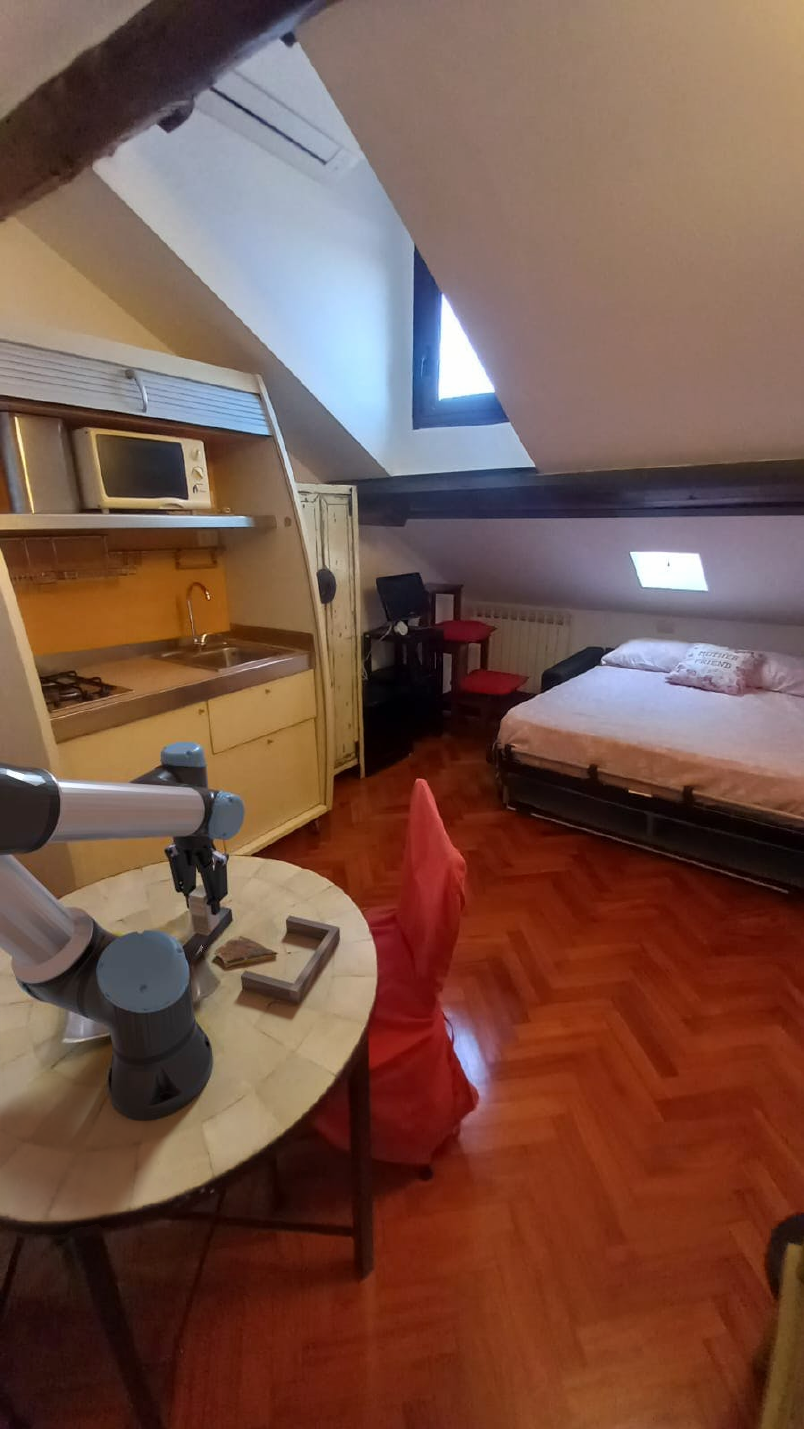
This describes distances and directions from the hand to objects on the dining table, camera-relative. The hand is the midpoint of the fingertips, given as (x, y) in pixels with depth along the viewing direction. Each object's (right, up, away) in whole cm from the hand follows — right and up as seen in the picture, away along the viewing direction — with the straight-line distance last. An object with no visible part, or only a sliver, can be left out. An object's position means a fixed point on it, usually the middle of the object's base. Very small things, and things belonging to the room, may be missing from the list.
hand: (205, 923), depth 120 cm
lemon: (-15, -7, -6) cm, 18 cm away
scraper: (0, -4, +1) cm, 4 cm away
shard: (+8, -6, -1) cm, 10 cm away
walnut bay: (+19, -6, -5) cm, 20 cm away
